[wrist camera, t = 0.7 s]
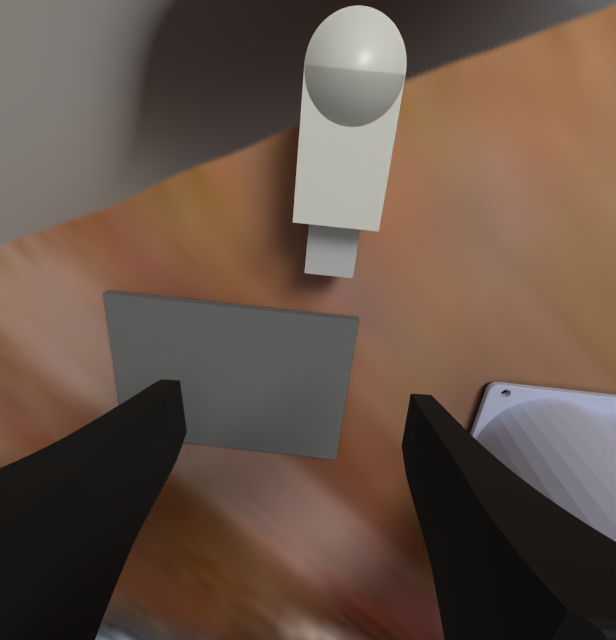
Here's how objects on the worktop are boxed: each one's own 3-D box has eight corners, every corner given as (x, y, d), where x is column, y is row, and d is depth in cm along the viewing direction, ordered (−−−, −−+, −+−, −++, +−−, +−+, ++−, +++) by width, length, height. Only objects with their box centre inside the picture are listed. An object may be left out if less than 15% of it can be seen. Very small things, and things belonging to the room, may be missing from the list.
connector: (314, 38, 15) (309, 0, 12) (395, 46, 15) (416, 10, 11) (296, 256, 19) (288, 280, 15) (361, 263, 19) (368, 289, 15)
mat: (358, 317, 20) (358, 320, 20) (335, 454, 24) (335, 459, 24) (108, 290, 20) (103, 293, 20) (127, 431, 24) (123, 436, 24)
